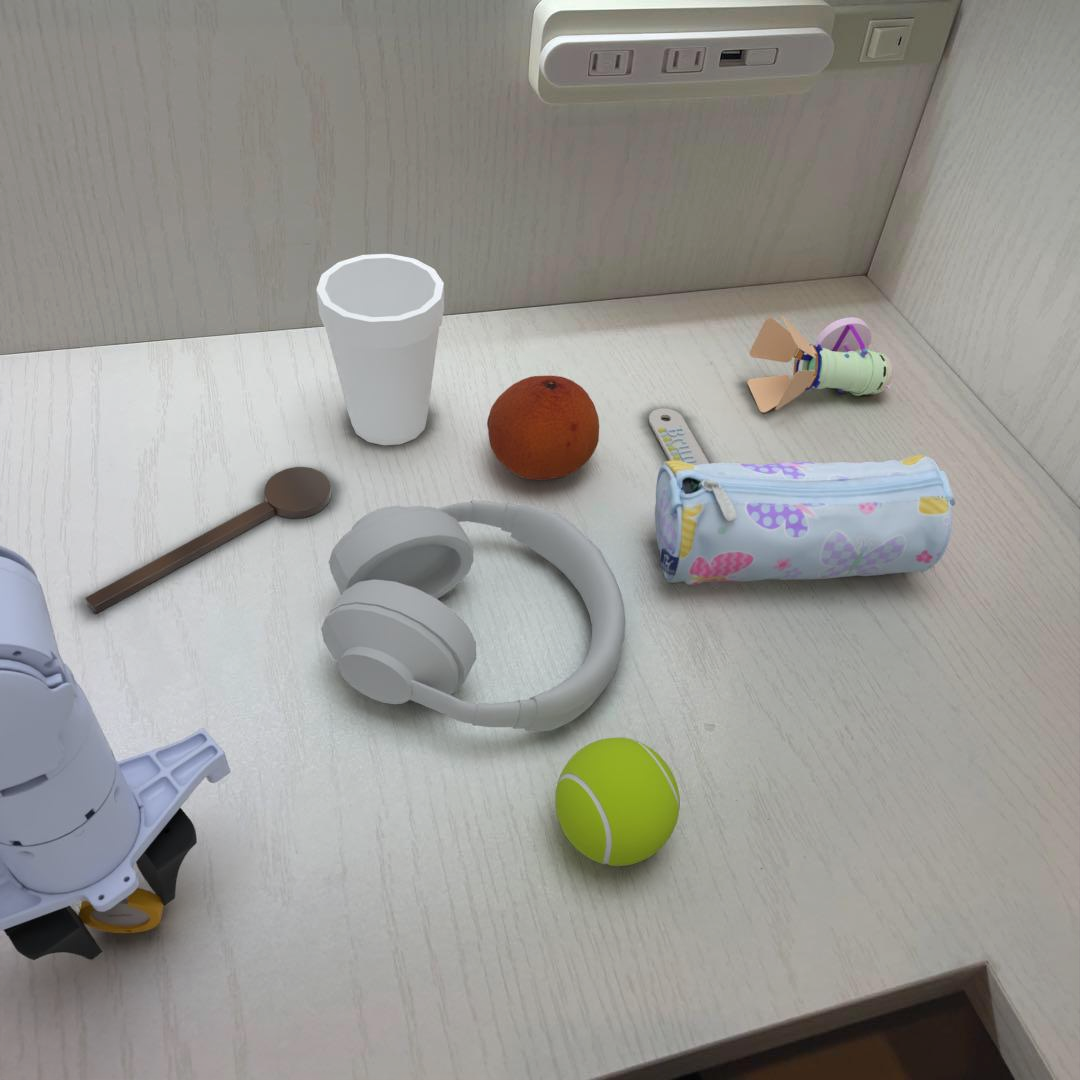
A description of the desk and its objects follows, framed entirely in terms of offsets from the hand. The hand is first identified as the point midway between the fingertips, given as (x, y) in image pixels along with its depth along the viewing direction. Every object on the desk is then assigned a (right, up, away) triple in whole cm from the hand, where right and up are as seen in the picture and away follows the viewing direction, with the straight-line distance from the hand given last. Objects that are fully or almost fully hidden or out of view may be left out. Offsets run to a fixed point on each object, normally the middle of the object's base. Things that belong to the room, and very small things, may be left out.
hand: (124, 915), depth 51 cm
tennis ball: (+26, +2, +7) cm, 27 cm away
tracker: (0, -1, +1) cm, 2 cm away
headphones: (+18, +13, +16) cm, 27 cm away
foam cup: (+9, +30, +31) cm, 44 cm away
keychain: (+34, +27, +31) cm, 53 cm away
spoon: (-2, +20, +21) cm, 29 cm away
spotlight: (+47, +33, +38) cm, 69 cm away
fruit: (+22, +26, +29) cm, 45 cm away
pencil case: (+40, +18, +23) cm, 50 cm away
